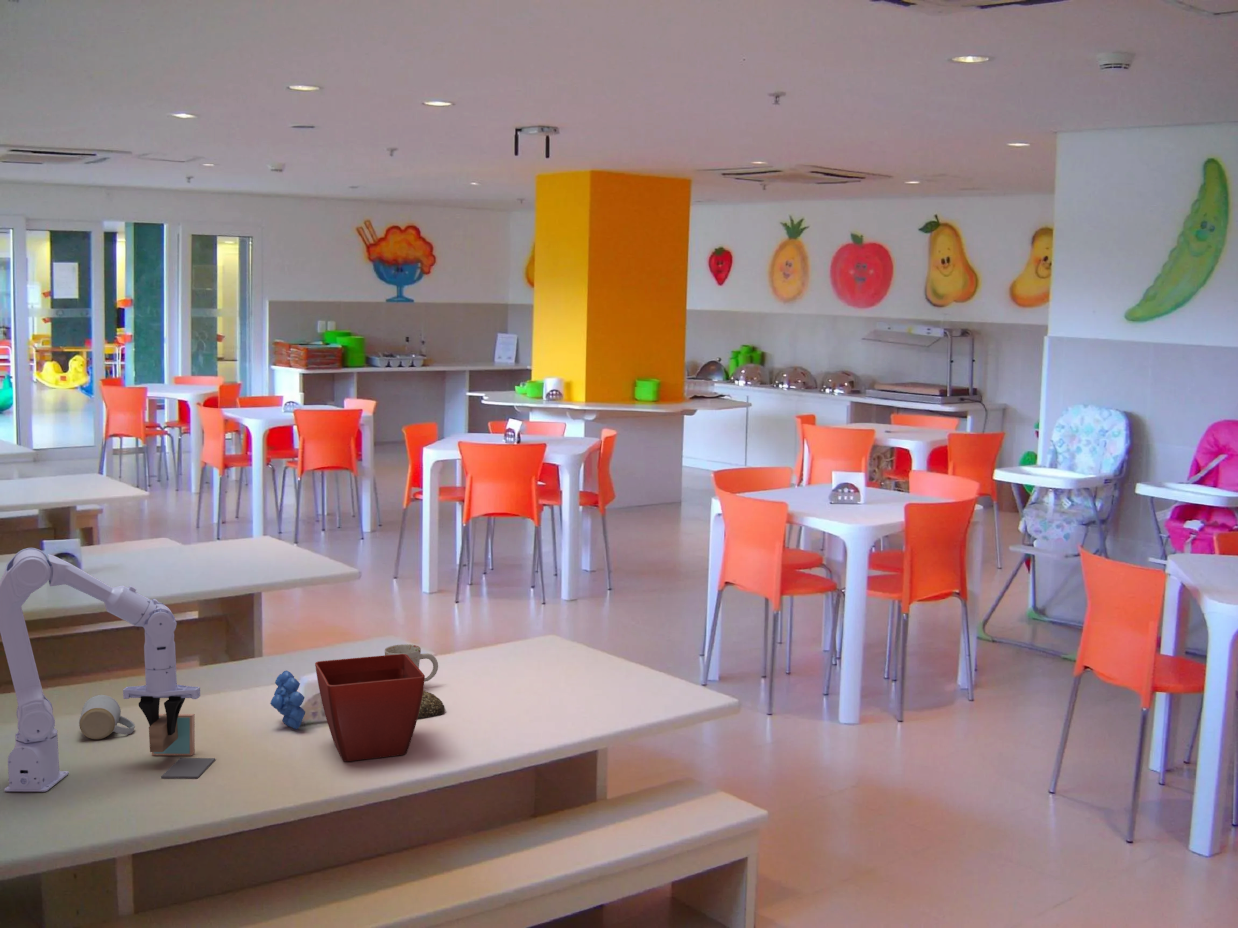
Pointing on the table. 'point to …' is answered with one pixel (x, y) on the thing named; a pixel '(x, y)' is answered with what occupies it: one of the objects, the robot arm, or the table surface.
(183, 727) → the picture frame
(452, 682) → the table surface
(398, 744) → the plant pot
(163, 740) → the bronze rectangular prism
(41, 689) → the robot arm
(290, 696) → the grapes
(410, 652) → the mug
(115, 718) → the ceramic mug
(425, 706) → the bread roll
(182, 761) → the mat
